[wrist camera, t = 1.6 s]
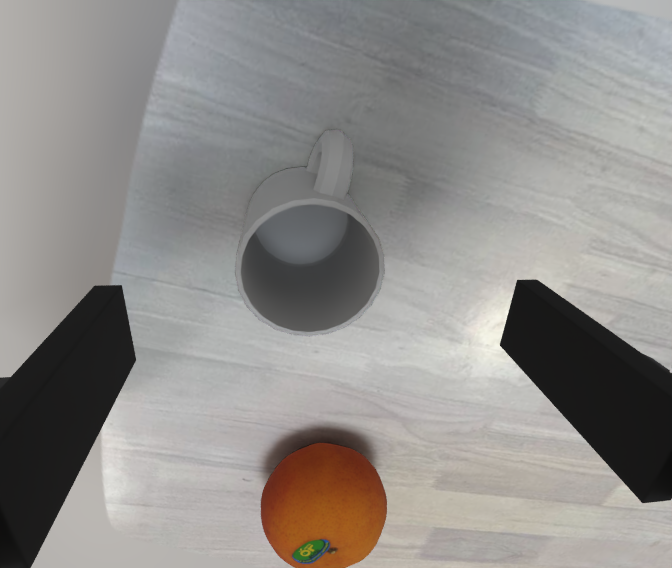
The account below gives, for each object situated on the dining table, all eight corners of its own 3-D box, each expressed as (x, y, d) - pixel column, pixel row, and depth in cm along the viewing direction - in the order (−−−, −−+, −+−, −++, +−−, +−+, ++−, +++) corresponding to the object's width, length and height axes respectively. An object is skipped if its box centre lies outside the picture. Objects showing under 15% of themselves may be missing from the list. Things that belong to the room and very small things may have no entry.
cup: (236, 254, 28) (220, 320, 20) (272, 103, 24) (271, 110, 16) (334, 278, 30) (356, 347, 22) (382, 141, 26) (430, 164, 18)
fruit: (394, 439, 38) (422, 521, 30) (344, 510, 41) (359, 599, 34) (289, 410, 34) (293, 495, 27) (245, 491, 38) (238, 584, 31)
